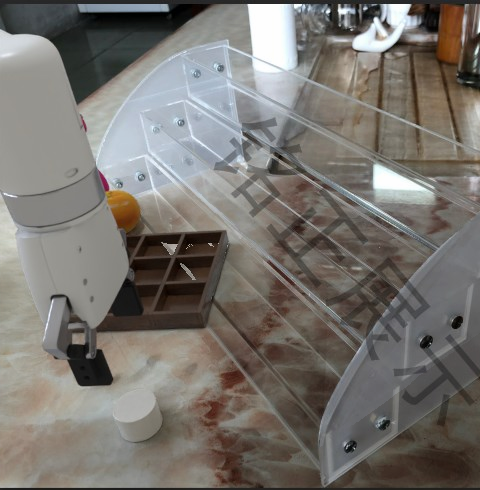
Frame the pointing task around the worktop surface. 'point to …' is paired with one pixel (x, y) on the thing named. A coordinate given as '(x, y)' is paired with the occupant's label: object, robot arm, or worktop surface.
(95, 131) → the worktop surface
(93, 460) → the worktop surface
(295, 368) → the worktop surface
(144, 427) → the white cylinder puck
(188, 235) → the board
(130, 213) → the fruit
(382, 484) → the worktop surface
